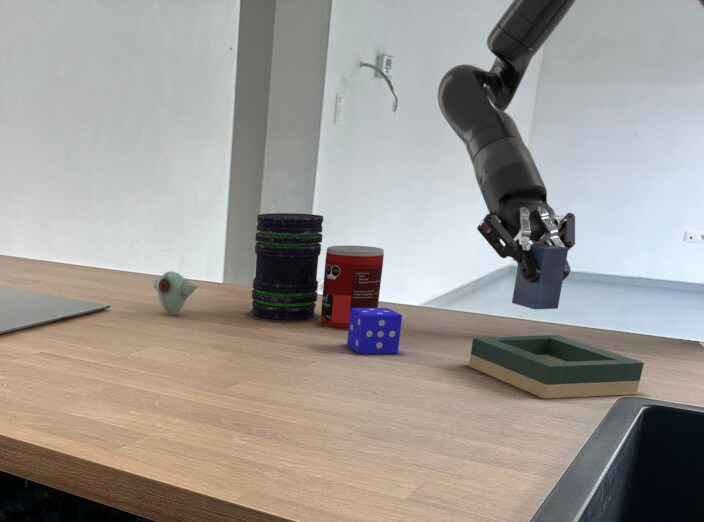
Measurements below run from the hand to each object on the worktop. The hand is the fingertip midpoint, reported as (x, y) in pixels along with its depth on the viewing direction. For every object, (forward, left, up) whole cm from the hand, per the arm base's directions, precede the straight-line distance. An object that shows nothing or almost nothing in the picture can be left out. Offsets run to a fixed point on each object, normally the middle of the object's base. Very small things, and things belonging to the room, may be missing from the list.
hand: (549, 278), depth 114 cm
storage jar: (+28, -22, -9) cm, 37 cm away
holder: (+12, +19, -8) cm, 24 cm away
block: (0, -2, -4) cm, 4 cm away
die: (+25, +2, -9) cm, 27 cm away
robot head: (+45, -25, -9) cm, 52 cm away
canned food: (+21, -14, -9) cm, 27 cm away
